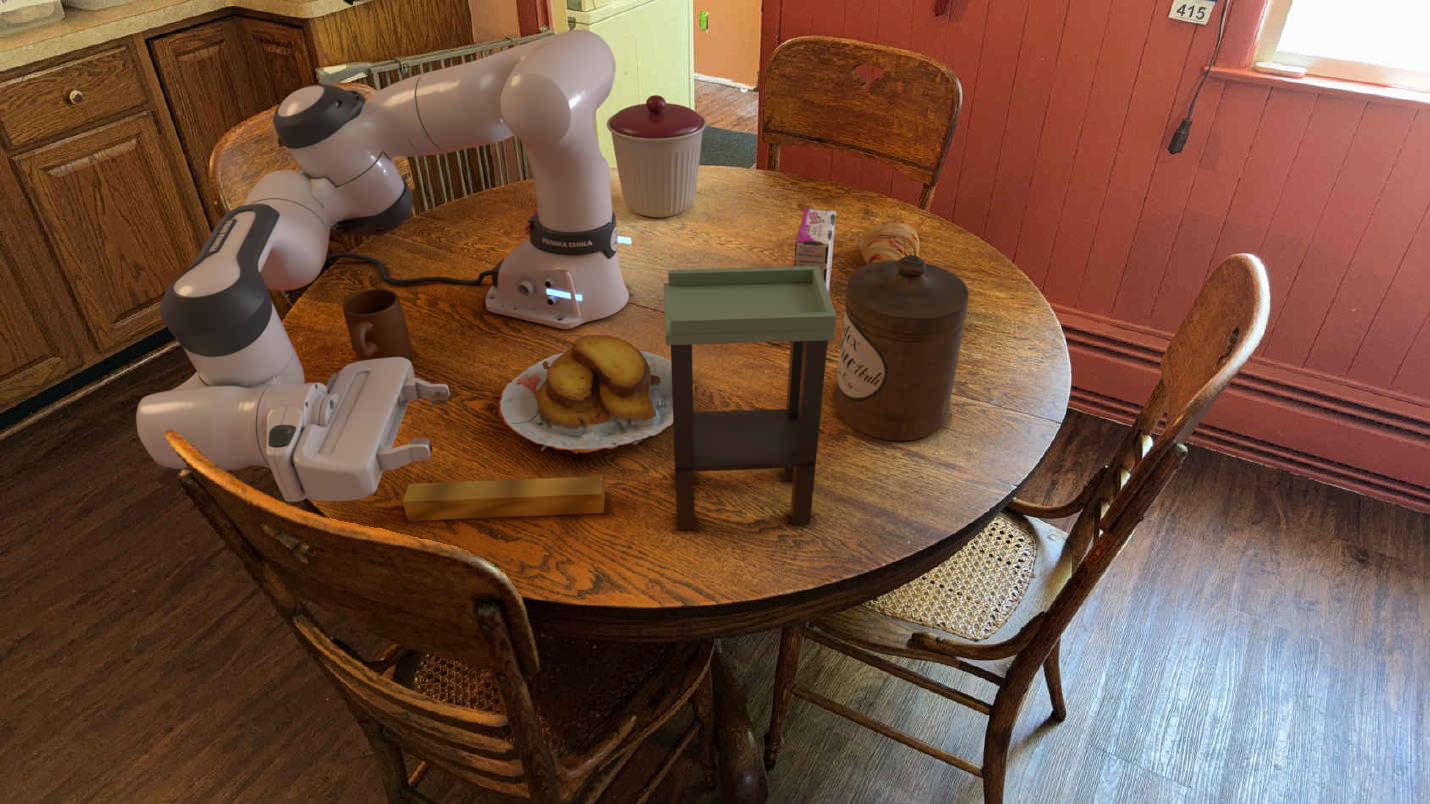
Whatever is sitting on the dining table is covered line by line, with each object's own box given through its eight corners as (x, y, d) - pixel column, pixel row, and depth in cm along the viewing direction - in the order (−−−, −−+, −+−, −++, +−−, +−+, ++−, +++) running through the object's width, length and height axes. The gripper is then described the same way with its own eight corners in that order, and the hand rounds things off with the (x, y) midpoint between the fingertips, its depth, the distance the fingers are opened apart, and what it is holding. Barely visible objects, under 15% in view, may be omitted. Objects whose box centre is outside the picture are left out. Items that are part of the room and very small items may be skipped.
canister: (721, 197, 169) (722, 88, 156) (681, 234, 156) (678, 118, 143) (640, 182, 175) (635, 76, 162) (595, 216, 162) (585, 103, 149)
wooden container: (826, 376, 120) (840, 232, 106) (930, 373, 120) (957, 229, 107) (845, 444, 108) (863, 291, 95) (960, 440, 108) (995, 287, 95)
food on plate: (465, 444, 107) (455, 402, 104) (555, 343, 126) (550, 304, 123) (653, 488, 101) (650, 445, 97) (719, 374, 120) (719, 334, 116)
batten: (408, 521, 97) (402, 501, 95) (413, 502, 99) (408, 483, 97) (603, 513, 98) (601, 493, 96) (604, 495, 100) (602, 476, 98)
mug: (398, 391, 117) (382, 332, 111) (341, 392, 116) (322, 333, 111) (419, 343, 126) (405, 287, 120) (367, 344, 126) (351, 288, 120)
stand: (672, 532, 95) (664, 321, 79) (670, 473, 103) (663, 269, 87) (814, 526, 96) (836, 315, 80) (802, 467, 104) (819, 265, 88)
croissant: (893, 310, 141) (922, 276, 135) (842, 277, 140) (870, 241, 135) (909, 251, 157) (936, 219, 151) (863, 222, 156) (888, 187, 151)
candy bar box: (797, 303, 136) (804, 206, 126) (828, 306, 135) (838, 209, 125) (787, 340, 127) (794, 239, 117) (821, 344, 126) (830, 243, 116)
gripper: (341, 391, 100) (461, 387, 100) (281, 514, 83) (425, 508, 84) (327, 345, 96) (452, 341, 97) (261, 465, 80) (412, 459, 80)
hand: (439, 420), depth 90 cm, fingers open, 8 cm apart
